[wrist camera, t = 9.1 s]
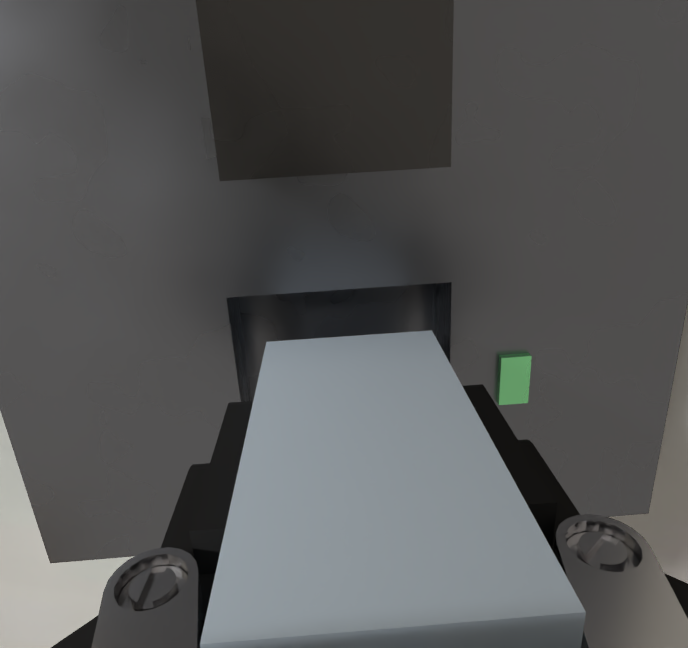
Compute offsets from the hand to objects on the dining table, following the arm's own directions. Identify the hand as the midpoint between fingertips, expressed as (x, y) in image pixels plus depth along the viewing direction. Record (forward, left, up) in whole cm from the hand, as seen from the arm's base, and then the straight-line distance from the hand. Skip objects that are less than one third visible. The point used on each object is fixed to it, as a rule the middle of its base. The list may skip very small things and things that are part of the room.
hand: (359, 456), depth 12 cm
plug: (0, 0, -2) cm, 2 cm away
